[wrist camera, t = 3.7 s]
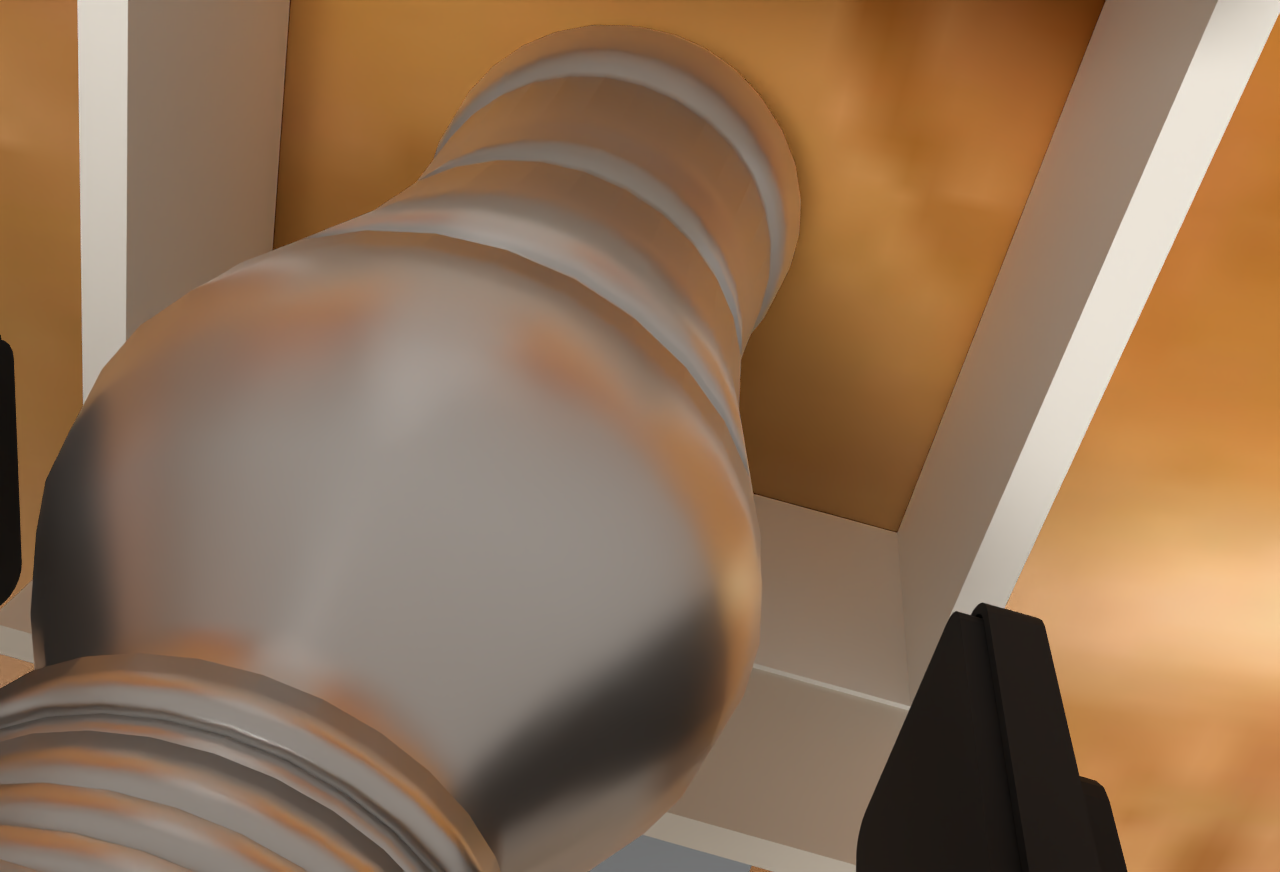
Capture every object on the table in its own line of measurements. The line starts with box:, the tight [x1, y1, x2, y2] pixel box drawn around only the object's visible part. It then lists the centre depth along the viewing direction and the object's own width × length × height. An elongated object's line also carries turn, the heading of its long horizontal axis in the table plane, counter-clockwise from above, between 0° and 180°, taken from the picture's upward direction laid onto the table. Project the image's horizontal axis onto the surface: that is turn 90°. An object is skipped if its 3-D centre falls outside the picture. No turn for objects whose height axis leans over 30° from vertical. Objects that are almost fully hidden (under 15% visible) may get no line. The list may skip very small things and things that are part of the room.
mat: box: [588, 835, 752, 872], centre depth 31 cm, size 14×14×1 cm
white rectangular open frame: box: [0, 0, 1280, 872], centre depth 19 cm, size 15×17×10 cm
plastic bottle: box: [0, 25, 801, 872], centre depth 15 cm, size 6×7×20 cm
